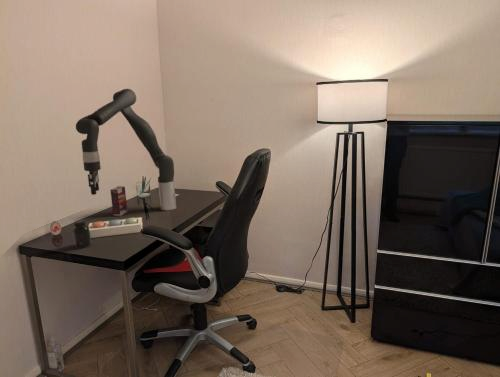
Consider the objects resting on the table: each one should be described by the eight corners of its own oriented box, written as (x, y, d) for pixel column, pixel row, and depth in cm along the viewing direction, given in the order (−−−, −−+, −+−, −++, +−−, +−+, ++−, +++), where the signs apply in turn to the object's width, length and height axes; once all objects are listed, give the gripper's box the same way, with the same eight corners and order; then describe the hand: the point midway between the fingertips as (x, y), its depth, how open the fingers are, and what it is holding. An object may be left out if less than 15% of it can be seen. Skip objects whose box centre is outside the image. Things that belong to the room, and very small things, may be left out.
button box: (142, 224, 192) (141, 217, 191) (141, 231, 180) (141, 224, 179) (90, 230, 185) (89, 223, 184) (86, 238, 174) (85, 230, 173)
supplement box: (120, 216, 207) (117, 189, 203) (113, 215, 208) (109, 189, 204) (128, 211, 215) (125, 186, 212) (121, 211, 216) (117, 186, 213)
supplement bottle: (78, 243, 168) (75, 219, 166) (93, 242, 169) (90, 218, 166) (73, 248, 162) (69, 224, 159) (88, 247, 162) (84, 223, 159)
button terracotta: (105, 225, 183) (104, 220, 183) (103, 229, 178) (103, 224, 177) (93, 226, 182) (92, 221, 181) (91, 230, 177) (91, 225, 176)
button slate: (121, 223, 185) (120, 218, 185) (120, 227, 180) (119, 222, 179) (110, 224, 184) (109, 220, 183) (108, 228, 179) (108, 223, 178)
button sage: (137, 221, 187) (136, 217, 187) (137, 225, 182) (136, 220, 181) (126, 223, 186) (125, 218, 185) (125, 226, 181) (124, 221, 180)
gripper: (97, 162, 168) (101, 195, 172) (101, 158, 182) (105, 188, 185) (80, 163, 166) (84, 196, 170) (86, 159, 180) (90, 189, 184)
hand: (95, 192), depth 178 cm, fingers open, 8 cm apart
